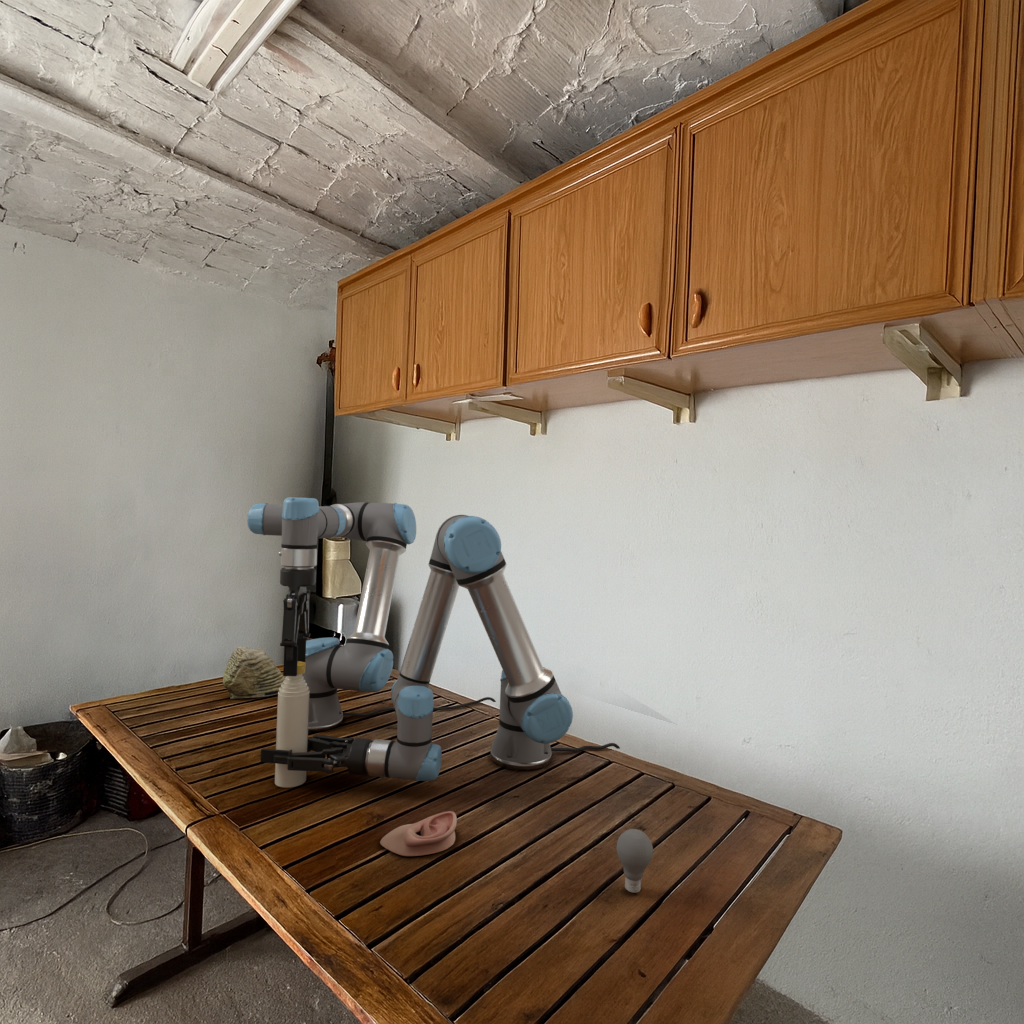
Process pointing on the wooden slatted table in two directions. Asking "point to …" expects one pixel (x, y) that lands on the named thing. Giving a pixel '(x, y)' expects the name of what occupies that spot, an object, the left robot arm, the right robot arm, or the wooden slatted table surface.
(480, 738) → the wooden slatted table surface
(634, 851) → the light bulb
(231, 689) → the fossil
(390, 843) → the anatomical model
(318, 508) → the left robot arm
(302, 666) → the cap
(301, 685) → the bottle
